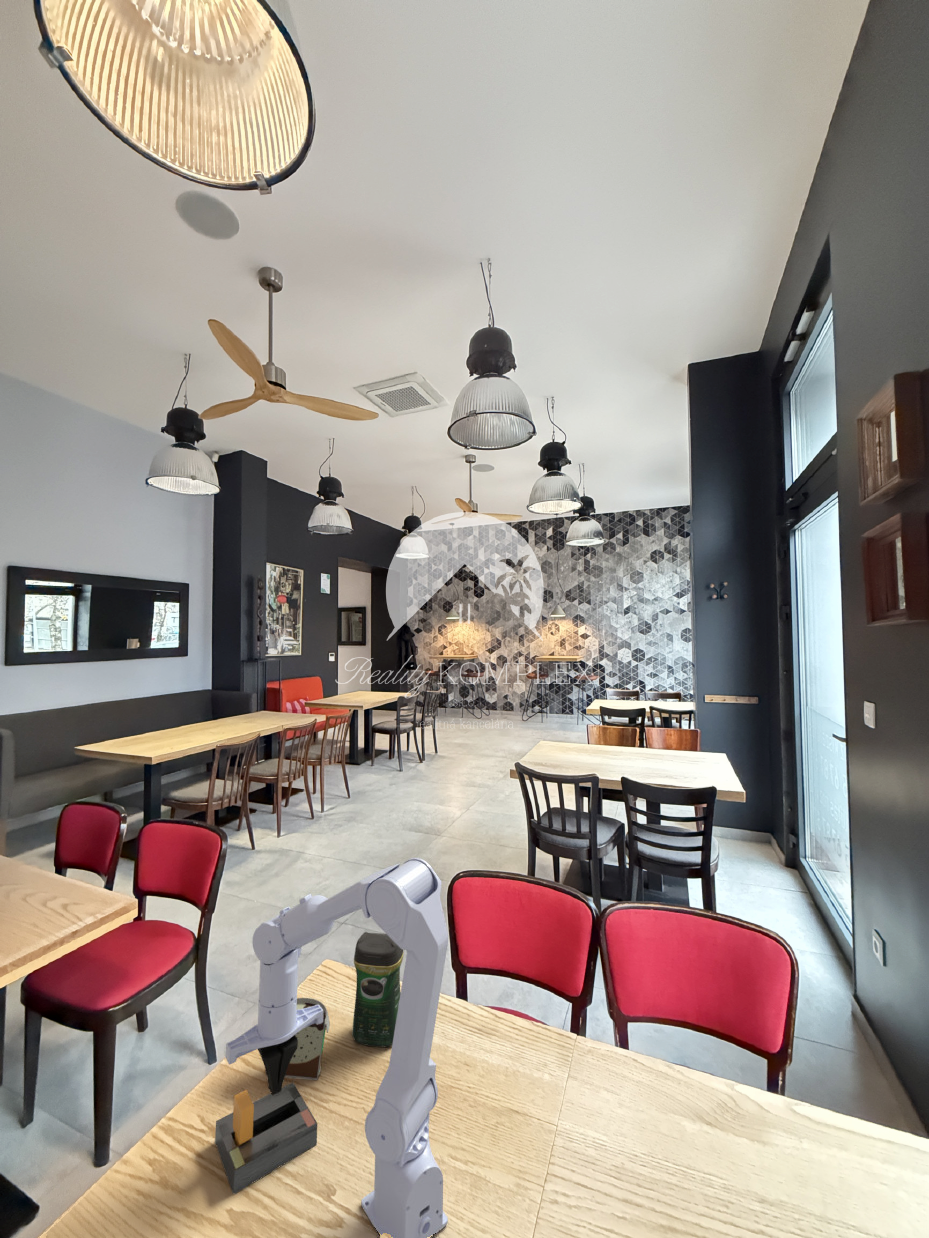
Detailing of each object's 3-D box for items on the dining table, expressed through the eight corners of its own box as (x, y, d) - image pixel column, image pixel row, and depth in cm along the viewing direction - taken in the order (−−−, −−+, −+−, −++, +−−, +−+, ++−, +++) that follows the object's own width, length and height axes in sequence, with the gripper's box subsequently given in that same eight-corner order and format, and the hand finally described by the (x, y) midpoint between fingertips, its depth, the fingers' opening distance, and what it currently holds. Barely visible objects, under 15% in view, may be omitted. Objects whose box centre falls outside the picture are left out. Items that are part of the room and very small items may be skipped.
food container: (338, 1054, 97) (339, 998, 98) (326, 1080, 91) (328, 1020, 91) (275, 1049, 98) (277, 993, 99) (259, 1074, 92) (261, 1014, 93)
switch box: (316, 1144, 79) (317, 1123, 79) (233, 1194, 71) (234, 1170, 71) (292, 1100, 86) (293, 1081, 87) (214, 1142, 79) (216, 1120, 79)
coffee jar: (406, 1023, 105) (408, 928, 107) (394, 1052, 97) (397, 949, 99) (361, 1017, 107) (363, 923, 108) (346, 1045, 99) (349, 943, 101)
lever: (251, 1158, 76) (253, 1105, 76) (238, 1165, 75) (241, 1111, 75) (244, 1140, 78) (246, 1089, 79) (231, 1147, 77) (234, 1095, 78)
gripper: (312, 967, 89) (309, 1052, 88) (222, 1001, 80) (217, 1096, 78) (329, 987, 83) (327, 1078, 82) (235, 1026, 74) (230, 1129, 73)
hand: (274, 1089), depth 80 cm, fingers closed
